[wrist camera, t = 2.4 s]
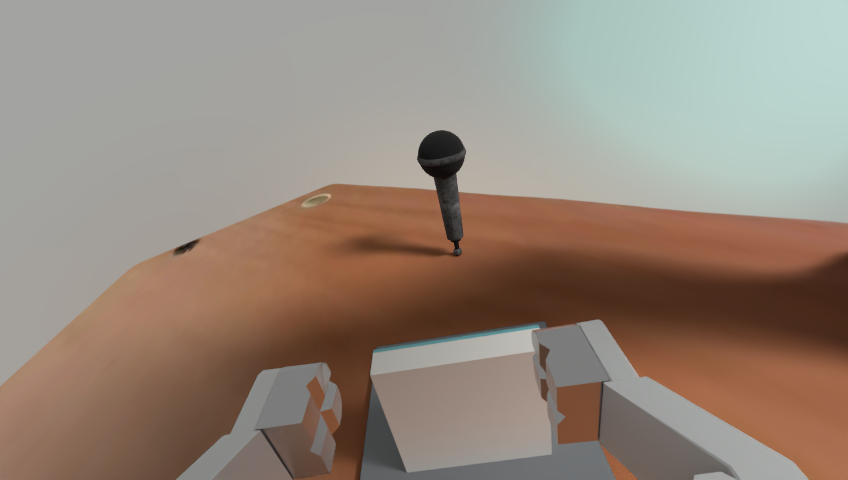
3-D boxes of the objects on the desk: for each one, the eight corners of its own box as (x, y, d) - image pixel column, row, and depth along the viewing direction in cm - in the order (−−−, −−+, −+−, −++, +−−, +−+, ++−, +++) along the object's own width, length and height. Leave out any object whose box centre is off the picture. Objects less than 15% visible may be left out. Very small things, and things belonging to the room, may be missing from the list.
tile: (551, 454, 30) (548, 349, 24) (407, 472, 31) (370, 375, 25) (543, 427, 32) (538, 324, 26) (407, 445, 33) (373, 350, 27)
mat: (619, 493, 27) (619, 488, 27) (357, 523, 29) (354, 519, 28) (544, 324, 43) (544, 320, 43) (378, 350, 44) (376, 346, 44)
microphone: (433, 249, 62) (409, 131, 53) (473, 240, 63) (456, 121, 53) (441, 271, 56) (416, 142, 47) (485, 260, 57) (468, 130, 47)
